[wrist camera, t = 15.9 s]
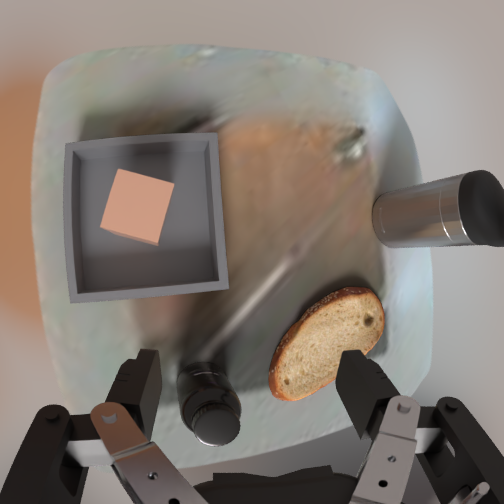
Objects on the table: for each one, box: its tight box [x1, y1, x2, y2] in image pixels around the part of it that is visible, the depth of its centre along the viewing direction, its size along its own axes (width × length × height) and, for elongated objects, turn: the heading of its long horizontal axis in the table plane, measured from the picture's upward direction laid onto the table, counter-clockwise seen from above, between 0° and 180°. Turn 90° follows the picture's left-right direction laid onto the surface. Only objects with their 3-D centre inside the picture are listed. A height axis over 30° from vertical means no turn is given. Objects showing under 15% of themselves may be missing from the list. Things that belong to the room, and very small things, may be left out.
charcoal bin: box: [63, 133, 229, 303], centre depth 34 cm, size 18×18×5 cm
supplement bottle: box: [177, 362, 242, 446], centre depth 33 cm, size 7×7×12 cm
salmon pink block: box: [100, 169, 174, 246], centre depth 31 cm, size 6×6×10 cm
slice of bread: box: [269, 287, 384, 401], centre depth 42 cm, size 18×18×4 cm
